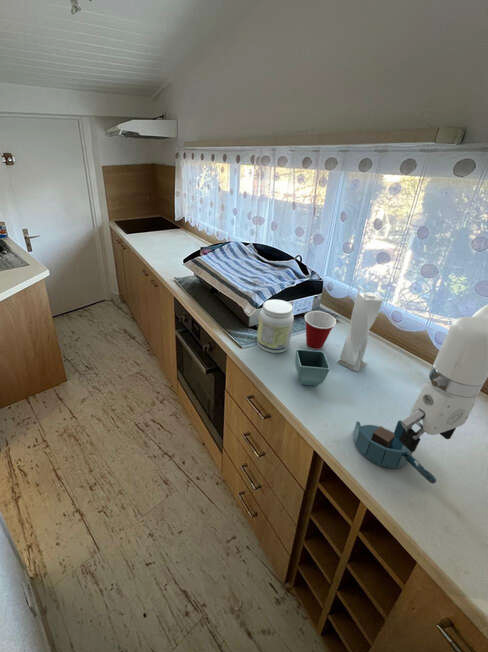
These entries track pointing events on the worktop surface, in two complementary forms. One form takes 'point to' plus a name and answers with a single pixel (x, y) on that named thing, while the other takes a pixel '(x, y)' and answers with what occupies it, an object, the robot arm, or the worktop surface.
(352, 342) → the skyscraper
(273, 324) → the supplement tub
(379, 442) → the block
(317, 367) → the flower pot
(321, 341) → the plastic cup
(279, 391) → the worktop surface
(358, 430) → the teal handled scoop
